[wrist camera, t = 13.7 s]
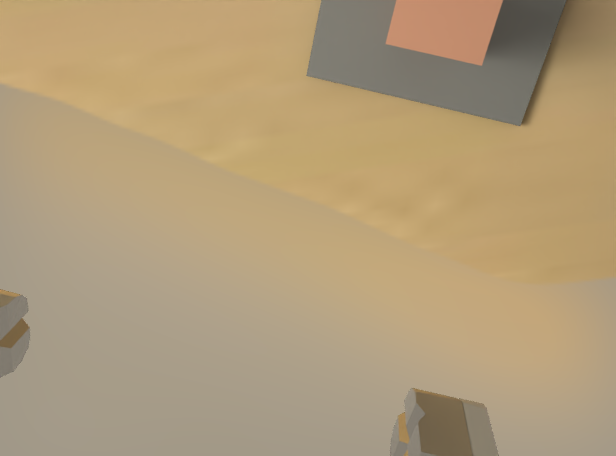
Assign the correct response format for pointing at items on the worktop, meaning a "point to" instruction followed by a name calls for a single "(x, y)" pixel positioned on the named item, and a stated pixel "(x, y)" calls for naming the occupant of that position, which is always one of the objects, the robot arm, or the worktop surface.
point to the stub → (445, 27)
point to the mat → (436, 58)
